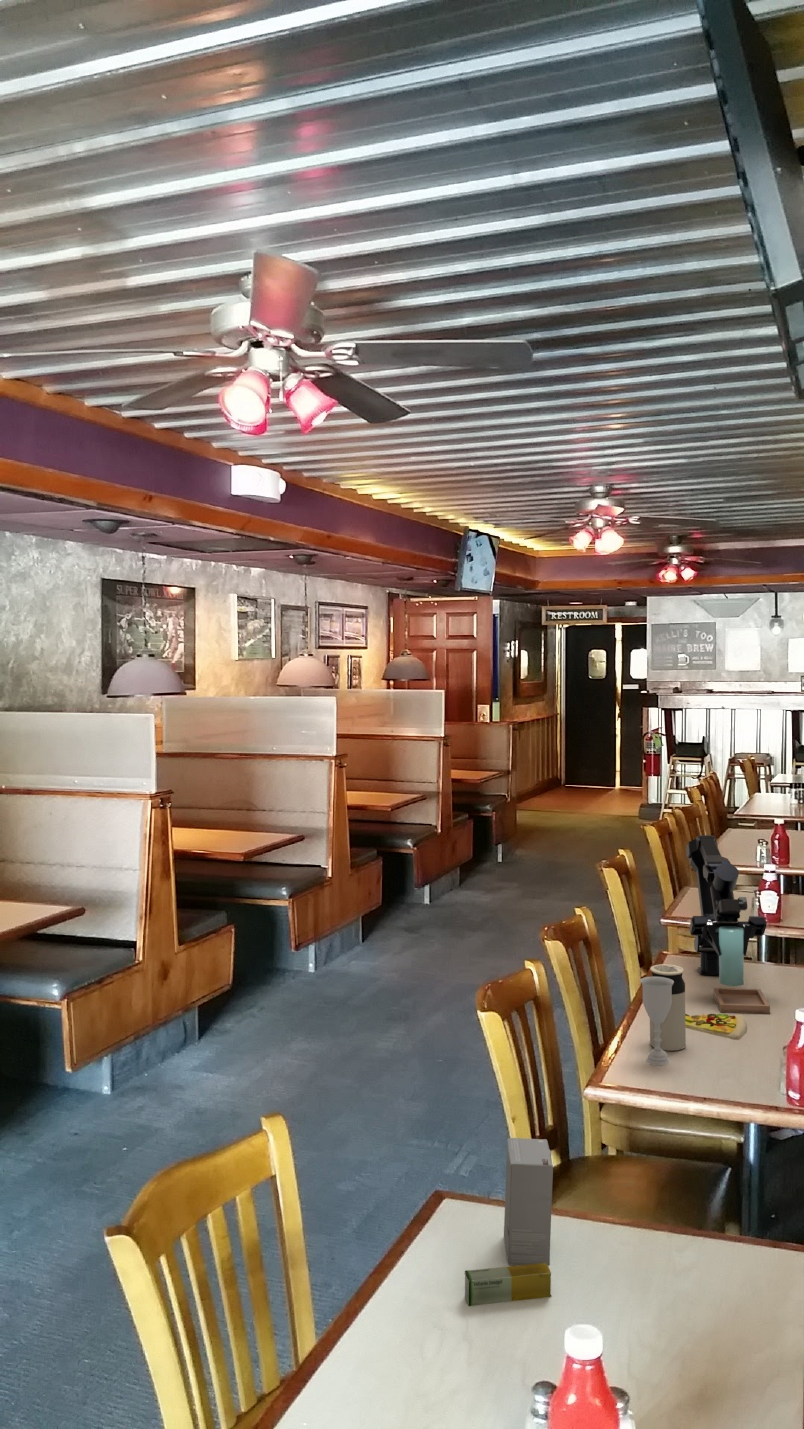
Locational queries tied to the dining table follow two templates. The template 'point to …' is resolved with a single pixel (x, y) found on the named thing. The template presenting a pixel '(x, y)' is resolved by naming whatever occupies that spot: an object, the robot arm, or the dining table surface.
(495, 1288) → the medication box
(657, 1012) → the chalice
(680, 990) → the travel mug
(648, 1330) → the dining table surface
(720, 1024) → the pizza slice
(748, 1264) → the dining table surface
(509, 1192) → the skincare box
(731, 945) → the teal rounded cylinder
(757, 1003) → the tray
